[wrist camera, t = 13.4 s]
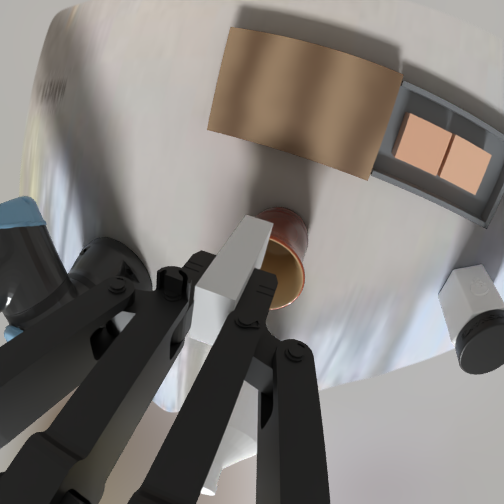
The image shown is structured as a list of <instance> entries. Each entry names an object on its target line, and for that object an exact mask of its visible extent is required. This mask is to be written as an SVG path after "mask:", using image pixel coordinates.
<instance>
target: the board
mask: <svg viewBox="0 0 504 504" xmlns="http://www.w3.org/2000/svg"><path fill="white" fill-rule="evenodd" d="M402 79H403V74H401V73H398V72H396V71H394V70H391V69H389V68H386V67H384V66H381V65H378V64H376V63H373V62H370V61H368V60H365V59H362V58H359V57H356V56H353V55H350V54H347V53H344V52H341V51H338V50H334V49H331V48H328V47H324V46H321V45H317V44H313V43H309V42H306V41H302V40H297V39H293V38H289V37H284V36H280V35H275V34H270V33H265V32H259V31H254V30H248V29H241V28H234V27H230V31H229V35H228V39H227V43H226V47H225V51H224V55H223V59H222V63H221V68H220V72H219V76H218V81H217V85H216V89H215V94H214V98H213V103H212V108H211V113H210V117H209V122H208V127H207V130H210V131H214V132H218V133H222V134H225V135H229V136H233V137H237V138H240V139H244V140H247V141H251V142H254V143H258V144H261V145H265V146H268V147H271V148H275V149H278V150H281V151H284V152H288V153H291V154H294V155H297V156H300V157H303V158H306V159H309V160H312V161H315V162H318V163H321V164H324V165H326V166H329V167H332V168H335V169H338V170H340V171H343V172H346V173H348V174H351V175H354V176H356V177H359V178H362V179H364V180H367V181H368V178H369V176H370V173H371V170H372V168H373V165H374V162H375V160H376V157H377V154H378V151H379V149H380V146H381V143H382V140H383V137H384V134H385V131H386V128H387V126H388V123H389V120H390V117H391V114H392V111H393V107H394V104H395V101H396V98H397V95H398V92H399V89H400V85H401V82H402Z"/></svg>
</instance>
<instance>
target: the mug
mask: <svg viewBox="0 0 504 504" xmlns="http://www.w3.org/2000/svg"><path fill="white" fill-rule="evenodd" d="M255 218H258V219H261V220H265V221H268V222H271V223H274V224H273V227H272V231H271V234H270V238H269V241H268V245H267V248H266V252H265V255H264V259H263V262H262V265H261V268H260V270H263V271H266V272H269V273H272V274H275V275H276V277H277V280H278V285H277V288H276V291H275V294H274V297H273V300H272V303H271V306H270V309H269V310H274V309H279V308H283V307H285V306H287V305H289V304H291V303H292V302H294V301H295V300H296V299H297V298H298V296H299V295H300V293H301V292H302V290H303V287H304V283H305V272H304V267H303V264H302V262H303V259H304V256H305V253H306V250H307V247H308V233H307V228H306V225H305V223H304V222H303V220H302V219H301V218H300V216H299V215H297V214H296V213H295V212H293V211H291V210H289V209H287V208H282V207H273V208H269V209H266V210H264V211H262V212H261V213H260V214H258V215H256V216H255Z"/></svg>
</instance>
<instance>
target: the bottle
mask: <svg viewBox="0 0 504 504" xmlns="http://www.w3.org/2000/svg"><path fill="white" fill-rule="evenodd" d="M257 423H258V389H256V388H255V387H253V386H252V385H250V384H249V383H247V382H246V381H245V380H244V382H243V385H242V388H241V390H240V393H239V396H238V398H237V401H236V404H235V406H234V409H233V412H232V414H231V417H230V420H229V422H228V425H227V427H226V430H225V433H224V435H223V438H222V440H221V443H220V445H219V448H218V450H217V453H216V456H215V458H214V461H213V463H212V466H211V468H210V471H209V473H208V476H207V478H206V480H205V483H204V485H203V488H202V490H201V493H203V494H206V495H215V493H216V490H217V488H218V486H217V482H218V479H219V477H220V474H221V471H222V469H223V468H225V467H227V466H230V465H232V464H234V463H236V462H239V461H241V460H243V459H246V458H249V457H252V456H254V455H256V454H257Z"/></svg>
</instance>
